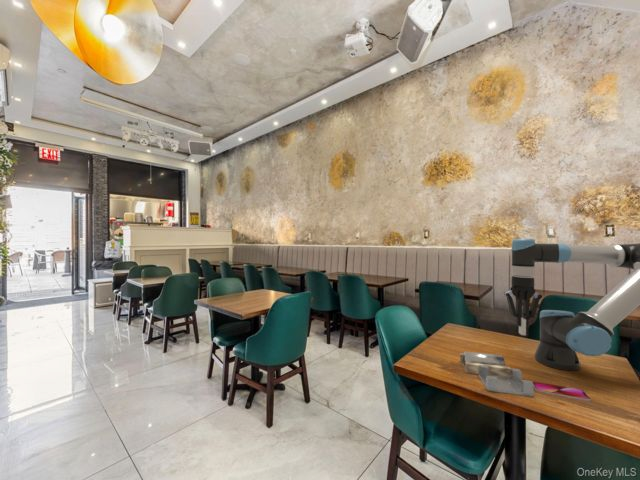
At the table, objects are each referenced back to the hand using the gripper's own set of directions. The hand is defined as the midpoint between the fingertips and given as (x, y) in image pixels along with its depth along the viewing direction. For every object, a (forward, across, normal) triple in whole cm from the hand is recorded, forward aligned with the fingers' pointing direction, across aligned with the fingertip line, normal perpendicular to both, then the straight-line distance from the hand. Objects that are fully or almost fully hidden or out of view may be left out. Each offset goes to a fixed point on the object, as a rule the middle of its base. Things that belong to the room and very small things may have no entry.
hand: (522, 334), depth 112 cm
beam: (+16, +14, 0) cm, 21 cm away
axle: (+16, +14, 0) cm, 21 cm away
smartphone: (+17, -7, +12) cm, 22 cm away
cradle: (+16, +11, +13) cm, 23 cm away
